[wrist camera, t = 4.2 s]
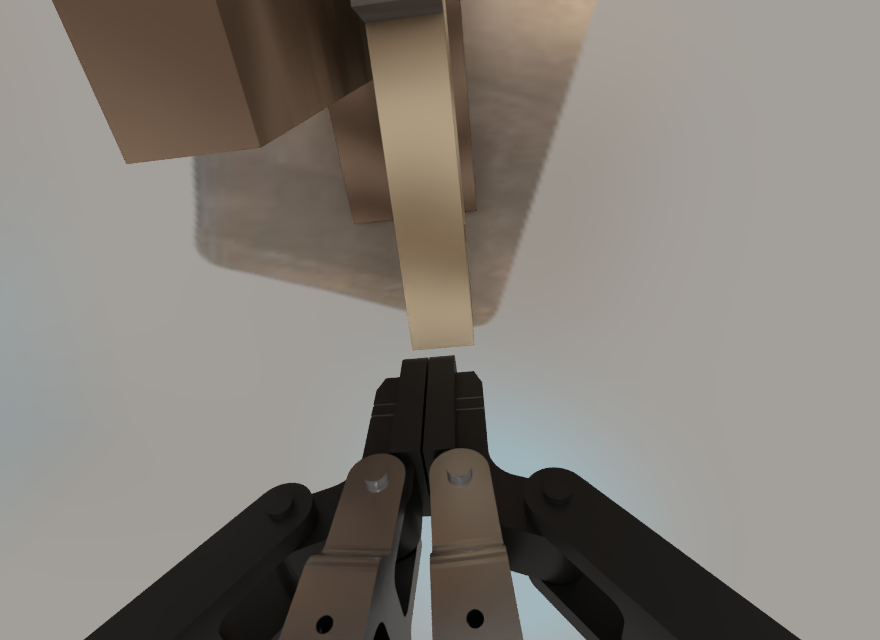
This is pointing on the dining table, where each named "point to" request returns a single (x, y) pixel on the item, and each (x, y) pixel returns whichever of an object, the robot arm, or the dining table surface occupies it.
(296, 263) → the dining table surface
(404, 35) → the frame
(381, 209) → the stand
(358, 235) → the dining table surface
